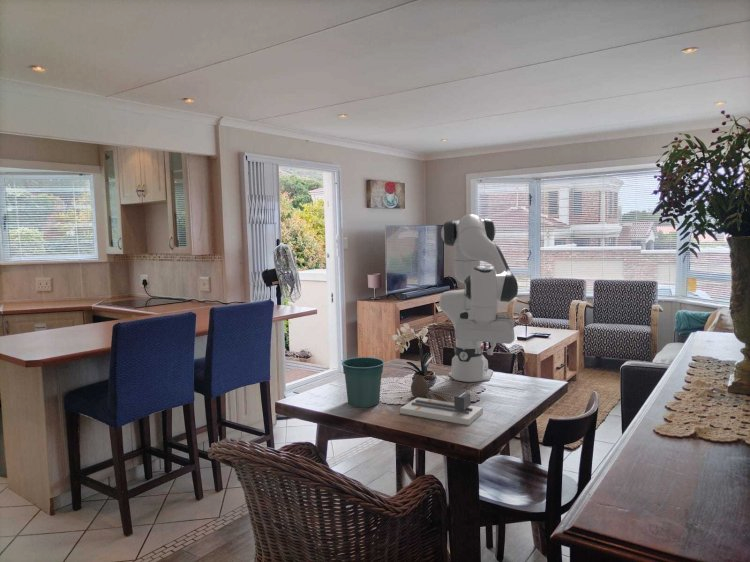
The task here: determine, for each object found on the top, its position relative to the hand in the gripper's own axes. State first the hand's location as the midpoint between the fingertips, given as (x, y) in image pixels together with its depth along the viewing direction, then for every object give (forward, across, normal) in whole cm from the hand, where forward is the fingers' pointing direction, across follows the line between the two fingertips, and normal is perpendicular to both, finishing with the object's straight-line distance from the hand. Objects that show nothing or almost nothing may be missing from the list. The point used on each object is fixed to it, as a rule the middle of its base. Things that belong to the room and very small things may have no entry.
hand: (484, 354), depth 183 cm
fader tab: (+21, +8, 0) cm, 22 cm away
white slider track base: (+23, +16, 0) cm, 28 cm away
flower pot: (+23, +47, +3) cm, 53 cm away
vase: (+23, +31, -13) cm, 41 cm away
